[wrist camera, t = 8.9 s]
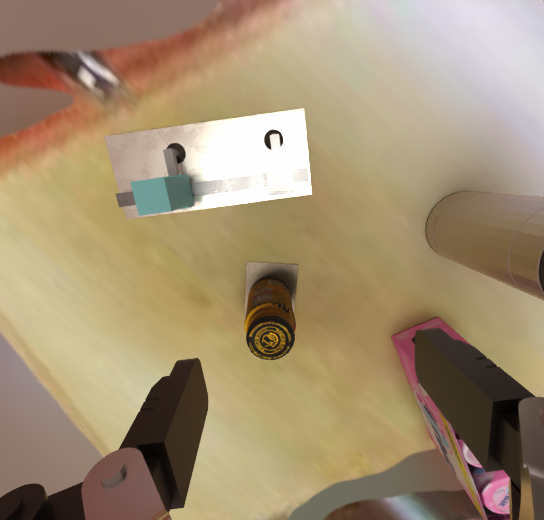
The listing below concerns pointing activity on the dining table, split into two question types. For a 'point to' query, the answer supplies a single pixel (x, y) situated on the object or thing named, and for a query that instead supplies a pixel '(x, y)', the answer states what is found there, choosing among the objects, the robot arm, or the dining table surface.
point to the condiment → (270, 308)
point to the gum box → (454, 435)
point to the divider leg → (164, 189)
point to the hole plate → (219, 159)
